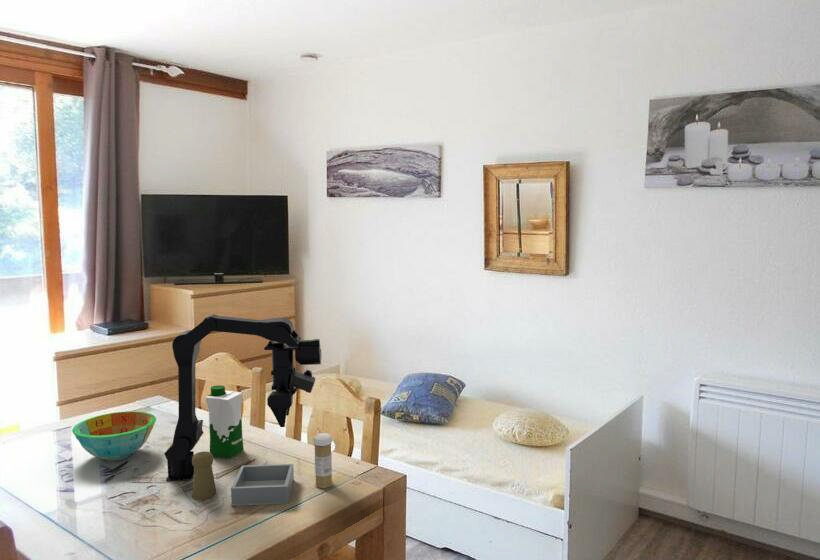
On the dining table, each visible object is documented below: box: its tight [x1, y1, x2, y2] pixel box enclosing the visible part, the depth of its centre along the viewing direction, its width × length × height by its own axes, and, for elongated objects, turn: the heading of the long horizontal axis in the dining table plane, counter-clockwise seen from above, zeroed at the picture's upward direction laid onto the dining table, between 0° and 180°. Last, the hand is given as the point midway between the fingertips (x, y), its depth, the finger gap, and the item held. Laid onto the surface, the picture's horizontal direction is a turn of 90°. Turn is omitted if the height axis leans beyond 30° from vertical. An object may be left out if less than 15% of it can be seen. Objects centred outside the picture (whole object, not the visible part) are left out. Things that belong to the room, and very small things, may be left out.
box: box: [230, 463, 295, 507], centre depth 162 cm, size 14×14×4 cm
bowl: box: [71, 410, 157, 462], centre depth 186 cm, size 22×22×10 cm
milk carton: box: [204, 384, 245, 460], centre depth 187 cm, size 9×9×20 cm
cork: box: [191, 451, 217, 501], centre depth 161 cm, size 6×6×11 cm
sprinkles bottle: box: [313, 432, 333, 489], centre depth 166 cm, size 5×5×14 cm
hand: (284, 421), depth 173 cm, fingers open, 9 cm apart
